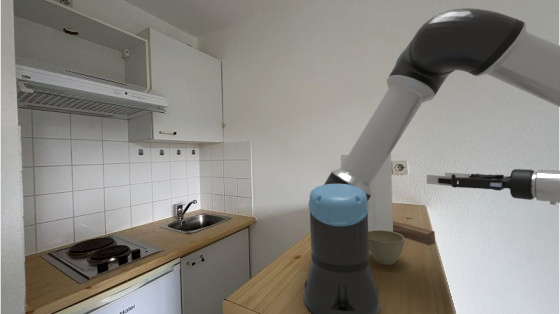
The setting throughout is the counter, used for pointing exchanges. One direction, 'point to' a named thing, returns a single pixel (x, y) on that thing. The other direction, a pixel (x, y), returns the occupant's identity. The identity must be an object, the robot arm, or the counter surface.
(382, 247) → the flower pot
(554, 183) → the robot arm
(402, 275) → the counter surface
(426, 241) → the batten
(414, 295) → the counter surface
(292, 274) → the counter surface
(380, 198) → the riser
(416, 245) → the counter surface
